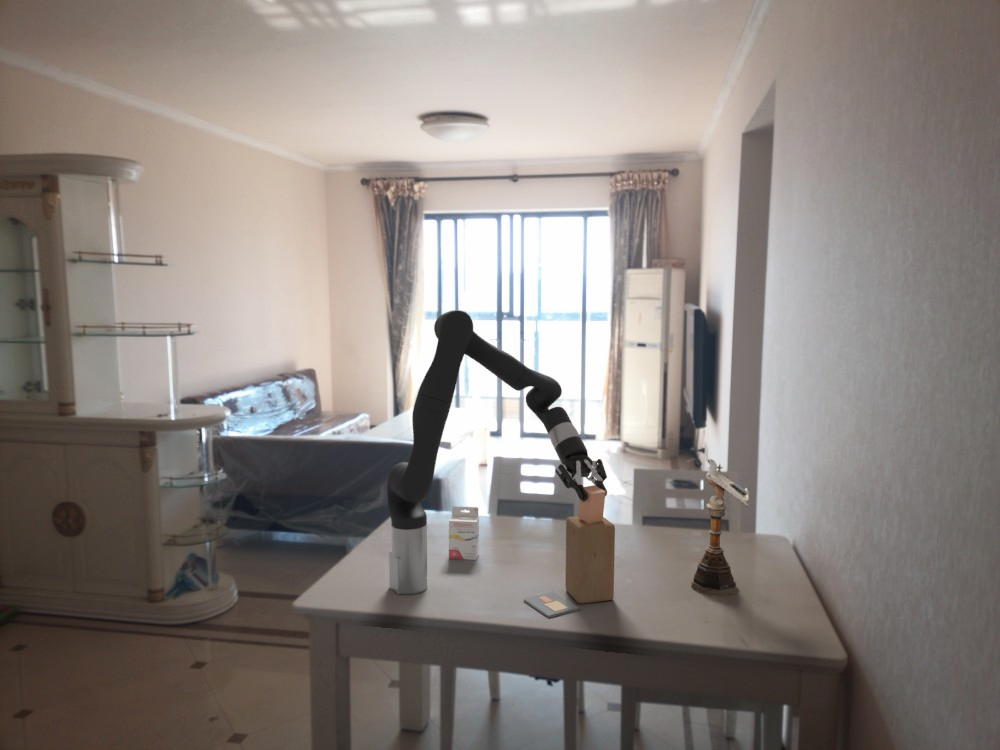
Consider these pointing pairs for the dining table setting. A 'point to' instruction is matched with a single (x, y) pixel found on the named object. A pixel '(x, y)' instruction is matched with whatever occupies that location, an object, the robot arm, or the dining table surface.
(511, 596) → the dining table surface
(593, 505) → the terracotta block
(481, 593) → the dining table surface
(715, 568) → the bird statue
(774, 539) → the dining table surface
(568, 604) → the tile
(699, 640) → the dining table surface
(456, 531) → the ink cartridge box
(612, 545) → the wooden block
